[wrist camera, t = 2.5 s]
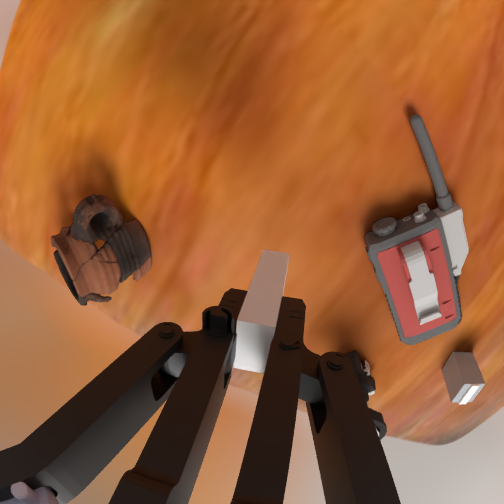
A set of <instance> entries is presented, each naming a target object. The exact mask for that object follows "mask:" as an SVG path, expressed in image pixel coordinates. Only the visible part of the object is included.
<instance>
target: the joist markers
mask: <svg viewBox="0 0 504 504" xmlns="http://www.w3.org/2000/svg"><path fill="white" fill-rule="evenodd" d="M442 372H443V376H444V379H445V382H446V386H447V389H448V392H449V396H450V400H451V402H458V403H459V404H466V403H467V402H472V401H473V400H474V398H475V397H476V396H477V394H478V393H479V392H480V390H481V389H482V388H483V386H484V385H485V382H484V379H483V377H482V374H481V372H480V369H479V367H478V364H477V362H476V360H475V357H474V355H473V353H471V352H454V351H453V352H452V354H451V355H450V357H449V359H448V360H447V362H446V364H445V365H444V367H443V369H442Z"/></svg>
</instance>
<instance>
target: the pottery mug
mask: <svg viewBox="0 0 504 504" xmlns="http://www.w3.org/2000/svg"><path fill="white" fill-rule="evenodd" d="M122 221H123V215H122V212H121V211H120V210H118V209H117V207H116V205H115V203H114V202H113V201H112V200H111V199H109V198H108V197H106V196H103V195H95V194H94V195H91V196H89V197H86V198H85V199H83V200H82V201H81V202H80V203H79V204H78V205H77V207H76V209H75V212H74V217H73V224H71V226H70V227H68V228H67V227H63V228H62V229H61V232H60V233H59V234H57V235H55V236H54V235H53V236H51V243H52V246H53V247H56V248H57V249H58V250H56V251H55V252H54V256H55V259H56V262H57V264H58V266H59V269H60V272H61V274H62V276H63V278H64V280H65V282H66V284H67V286H68V287H69V289H70V291H71V293H72V294H73V296H74V297H75V299H76V300H77V301H78V302H79V303H80V304H81V305H87V302H88V301H89V300H92V301H95V302H108V301H110V300H111V297H109V296H107V297H103V296H100V295H101V294H111V293H112V292H114V291H115V290H117V288H118V285H119V282H121V283H122V282H123V281H124V280H126V279H127V278H128V277H129V276H131V275H132V273H133V279H134V280H135V281H138V280H139V279H141V278H142V277H143V276H144V275H145V273H146V272H147V271H149V270H150V269H151V264H152V260H151V252H150V245H149V243H148V240H147V236H146V234H145V232H144V230H143V228H142V226H141V225H140V223H139V222H138V220H136V219H135V220H133V221H131V222H126V223H122ZM98 239H101V240H103V241H105V244H104V245H103V246H102V247H101V248H100V249H99V250H98V249H97V247H96V245H95V244H94V242H96V241H97V240H98Z"/></svg>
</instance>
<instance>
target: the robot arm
mask: <svg viewBox="0 0 504 504" xmlns="http://www.w3.org/2000/svg"><path fill="white" fill-rule="evenodd" d="M289 255H290V253H284V252H277V251H271V250H265V249H263V252H262V254H261V257H260V260H259V262H258V265H257V268H256V271H255V273H254V276H253V279H252V281H251V284H250V287H249V289H248V291H244V290H239V289H233V288H231V289H229V290H228V291H227V292H225V293H224V295H223V297H222V300H221V301H220V304H219V306H212V307H209V308H207V309H205V310H204V311H203V312H202V322H203V328H202V330H199V331H194V332H183V330H182V328H181V327H180V326H179V325H177V324H175V323H172V322H163V323H159V324H157V325H156V326H154V327H153V328H152V329H151V330H149V331H148V332H147V333H146V334H145V335H144V336H143V337H141V338H140V339H139V340H138V341H137V342H136V343H135V344H133V345H132V346H131V347H130V348H129V349H128V350H127V351H125V352H124V353H123V354H122V355H121V356H119V357H118V358H117V359H116V360H115V361H114V362H113V363H111V364H110V365H109V366H108V367H107V368H106V369H105V370H103V371H102V372H101V373H100V374H99V375H98V376H96V377H95V378H94V379H93V380H92V381H91V382H90V383H89V384H87V385H86V386H85V387H84V388H83V389H82V390H81V391H79V392H78V393H77V394H76V395H75V396H74V397H73V398H71V399H70V400H69V401H68V402H67V403H66V404H65V405H64V406H62V407H61V408H60V409H59V410H58V411H57V412H55V414H53V415H52V416H51V417H50V418H49V419H47V420H46V421H45V422H44V423H43V424H42V425H41V426H40V427H39V428H37V429H36V430H35V431H34V432H33V433H32V434H30V435H29V436H28V437H27V438H26V439H25V440H24V441H23V442H21V443H20V444H18V445H15V446H13V447H10V448H7V449H5V450H2V451H0V504H66V503H68V502H69V501H71V500H72V499H74V498H75V497H76V496H77V495H78V494H80V493H81V492H82V491H83V490H84V489H85V488H86V487H87V486H88V485H89V484H90V483H91V482H92V480H94V478H95V477H96V476H97V475H98V474H99V473H100V472H101V471H102V470H103V469H104V468H105V467H106V466H107V464H109V462H110V461H111V460H112V459H113V458H114V457H115V456H116V455H117V454H118V453H119V452H120V451H121V450H122V449H123V447H124V446H125V445H126V444H127V443H128V442H129V441H130V440H131V439H132V438H133V437H134V435H135V434H136V433H137V432H138V431H139V430H140V429H141V427H143V425H144V424H145V423H146V422H147V421H148V420H149V419H150V418H151V417H152V416H153V414H154V413H155V412H156V411H157V410H158V409H159V408H160V407H161V405H162V404H163V403H164V402H165V401H166V400H167V401H166V403H165V405H164V408H163V410H162V412H161V414H160V416H159V418H158V420H157V422H156V424H155V426H154V428H153V430H152V432H151V434H150V436H149V438H148V440H147V443H146V445H145V447H144V449H143V451H142V453H141V455H140V457H139V459H138V461H137V463H136V465H135V467H134V468H133V469H131V470H128V471H126V472H125V473H124V475H123V476H122V478H121V480H120V481H119V484H118V486H117V488H116V490H115V492H114V494H113V496H112V498H111V500H110V502H109V504H188V502H189V499H190V496H191V494H192V491H193V488H194V485H195V482H196V479H197V476H198V473H199V470H200V468H201V465H202V462H203V459H204V456H205V453H206V450H207V447H208V444H209V441H210V438H211V435H212V433H213V430H214V427H215V423H216V420H217V418H218V415H219V412H220V408H221V406H222V403H223V400H224V397H225V394H226V391H227V388H228V384H229V381H230V378H231V370H232V366H233V363H234V368H238V369H243V370H248V371H254V372H259V373H264V376H263V380H262V385H261V389H260V393H259V397H258V402H257V406H256V410H255V414H254V418H253V422H252V426H251V430H250V434H249V438H248V442H247V446H246V450H245V454H244V458H243V462H242V465H241V469H240V473H239V477H238V481H237V484H236V488H235V492H234V495H233V498H232V501H231V503H230V504H283V500H284V493H285V487H286V481H287V476H288V469H289V463H290V457H291V450H292V442H293V435H294V428H295V421H296V413H297V405H298V398H299V399H302V400H304V401H306V407H307V411H308V416H309V421H310V426H311V431H312V435H313V440H314V445H315V450H316V455H317V460H318V465H319V470H320V474H321V480H322V485H323V490H324V496H325V501H326V504H401V503H400V500H399V497H398V493H397V490H396V487H395V484H394V481H393V478H392V474H391V471H390V468H389V465H388V463H387V460H386V456H385V453H384V451H383V447H382V445H381V442H380V439H379V436H378V433H377V430H376V427H375V424H374V422H373V419H372V416H371V413H370V410H369V408H368V405H367V402H366V400H365V397H364V394H363V391H362V389H361V386H360V383H359V381H358V378H357V376H356V373H355V370H354V368H353V365H352V363H351V361H350V359H349V358H348V357H347V356H345V355H344V354H341V353H339V352H327V353H325V354H323V355H322V356H320V355H317V354H315V353H313V352H311V351H310V350H308V349H307V348H306V347H305V345H304V343H303V333H304V322H305V310H306V306H305V304H304V302H303V300H302V299H296V298H290V297H284V296H283V293H284V287H285V281H286V275H287V268H288V262H289Z"/></svg>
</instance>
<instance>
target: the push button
mask: <svg viewBox="0 0 504 504" xmlns="http://www.w3.org/2000/svg"><path fill="white" fill-rule="evenodd" d="M345 356H347V357H348V358H349V359H350V361H351V363H352V365H353V368H354V370H355V373H356V376H357V378H358V381H359V383H360V386H361V389H362V391H363V394H364V397H365V400H366V402H367V405H368V400H369V395H372V394H374V393H375V391H374V390H375V389H376V388H375V380H374V378H373V377H371V374H370V366H369V363H368V362H367V361H366V360H365V367H364V365H363V364H362V363H361V362H360V358H359V354H358V353H357V352H356V351H353V352H351V353H349V354H347V355H345ZM367 365H368V367H367ZM371 391H372V392H371ZM369 392H371V393H369ZM369 410H370V413H371V416H372V419H373V422H374V424H375V427H376V430H377V433H378V436H379V439H380V440H381V439H382V438H383V437H384V436H385V434H386V432H387V427H386V424H385V422H384V419H383V416H382V414H381V413H379V412H377V411H375V410H373V409H370V408H369Z"/></svg>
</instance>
